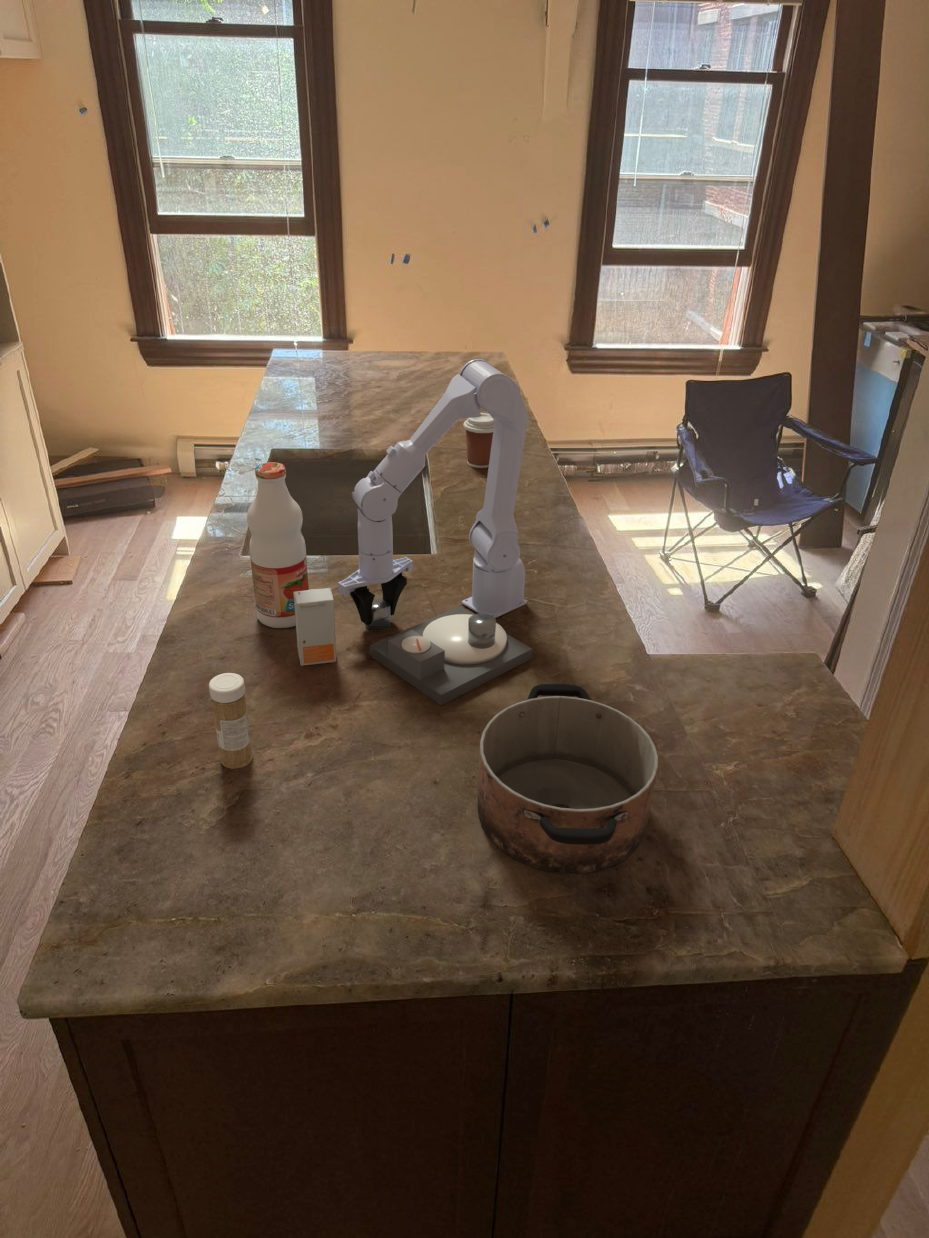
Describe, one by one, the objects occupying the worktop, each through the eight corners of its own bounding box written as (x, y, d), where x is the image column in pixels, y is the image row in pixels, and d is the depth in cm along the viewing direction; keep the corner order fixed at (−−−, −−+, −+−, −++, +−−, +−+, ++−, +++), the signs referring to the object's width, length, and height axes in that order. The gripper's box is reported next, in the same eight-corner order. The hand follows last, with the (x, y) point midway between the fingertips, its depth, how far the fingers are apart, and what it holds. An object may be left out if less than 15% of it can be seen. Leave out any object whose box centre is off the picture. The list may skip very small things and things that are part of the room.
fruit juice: (265, 600, 160) (250, 455, 146) (316, 604, 159) (306, 458, 145) (250, 627, 152) (232, 476, 137) (303, 631, 151) (291, 480, 137)
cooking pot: (475, 737, 128) (478, 677, 123) (626, 740, 129) (636, 681, 123) (478, 900, 103) (482, 834, 97) (668, 903, 103) (682, 837, 98)
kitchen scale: (459, 615, 157) (460, 586, 154) (531, 658, 146) (533, 628, 143) (370, 655, 146) (369, 624, 143) (441, 705, 134) (441, 673, 131)
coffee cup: (456, 459, 223) (457, 413, 217) (488, 455, 227) (490, 409, 220) (471, 472, 216) (473, 425, 210) (504, 467, 220) (507, 420, 213)
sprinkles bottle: (222, 749, 124) (211, 671, 117) (255, 748, 125) (245, 670, 118) (218, 771, 120) (205, 692, 113) (251, 769, 121) (241, 690, 114)
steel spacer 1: (380, 615, 157) (379, 595, 155) (395, 625, 154) (395, 605, 152) (359, 623, 154) (359, 604, 152) (375, 634, 151) (374, 614, 149)
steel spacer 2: (481, 631, 148) (482, 610, 145) (500, 642, 145) (501, 621, 143) (462, 640, 145) (462, 619, 143) (480, 651, 142) (481, 631, 140)
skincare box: (300, 667, 142) (295, 603, 136) (297, 653, 146) (292, 590, 139) (338, 662, 144) (334, 599, 137) (334, 648, 147) (330, 586, 141)
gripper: (394, 528, 153) (395, 595, 160) (325, 552, 145) (330, 622, 152) (420, 542, 149) (420, 610, 156) (351, 567, 140) (354, 639, 147)
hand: (377, 617), depth 153 cm, fingers closed on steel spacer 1, 4 cm apart
